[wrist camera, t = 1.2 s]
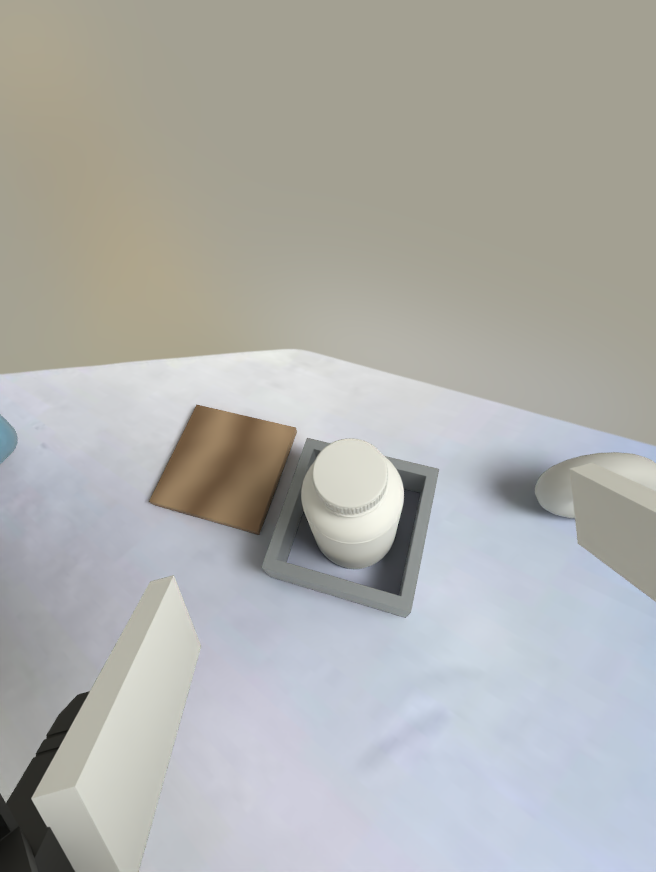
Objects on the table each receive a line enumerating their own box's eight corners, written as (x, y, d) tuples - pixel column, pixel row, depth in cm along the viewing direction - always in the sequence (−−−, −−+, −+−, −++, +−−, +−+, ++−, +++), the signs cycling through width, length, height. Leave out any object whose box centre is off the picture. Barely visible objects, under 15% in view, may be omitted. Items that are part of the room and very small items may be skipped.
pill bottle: (297, 528, 44) (270, 470, 31) (355, 476, 46) (353, 400, 33) (353, 589, 41) (349, 553, 28) (412, 531, 43) (435, 471, 30)
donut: (621, 490, 44) (688, 446, 35) (630, 525, 42) (703, 487, 33) (517, 488, 44) (556, 444, 36) (522, 521, 43) (565, 484, 34)
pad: (152, 504, 46) (148, 501, 45) (199, 409, 51) (196, 404, 50) (259, 534, 44) (257, 532, 43) (296, 431, 49) (295, 427, 48)
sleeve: (270, 576, 42) (261, 567, 38) (311, 456, 48) (306, 437, 44) (405, 617, 40) (410, 612, 36) (432, 486, 45) (439, 469, 41)
